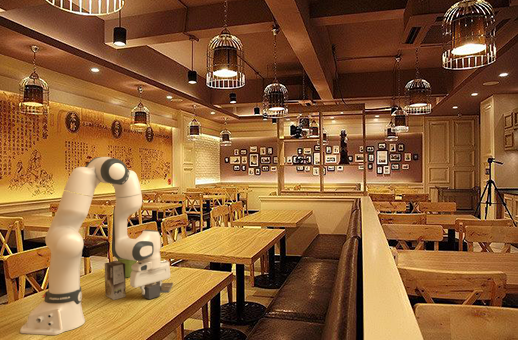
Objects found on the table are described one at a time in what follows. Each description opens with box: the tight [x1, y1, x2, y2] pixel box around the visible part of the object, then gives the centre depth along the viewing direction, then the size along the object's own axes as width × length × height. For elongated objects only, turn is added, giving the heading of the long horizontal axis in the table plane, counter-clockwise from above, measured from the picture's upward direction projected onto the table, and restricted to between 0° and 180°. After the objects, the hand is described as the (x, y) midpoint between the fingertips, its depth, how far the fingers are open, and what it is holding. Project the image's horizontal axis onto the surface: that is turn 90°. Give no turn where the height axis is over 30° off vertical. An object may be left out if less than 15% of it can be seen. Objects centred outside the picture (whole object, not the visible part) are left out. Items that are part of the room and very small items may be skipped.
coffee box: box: [104, 260, 127, 301], centre depth 182 cm, size 9×6×16 cm
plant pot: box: [116, 258, 138, 279], centre depth 213 cm, size 12×12×11 cm
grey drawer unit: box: [141, 282, 161, 300], centre depth 180 cm, size 6×6×6 cm
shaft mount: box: [155, 282, 174, 294], centre depth 192 cm, size 12×12×4 cm
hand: (151, 292), depth 180 cm, fingers closed on grey drawer unit, 6 cm apart
